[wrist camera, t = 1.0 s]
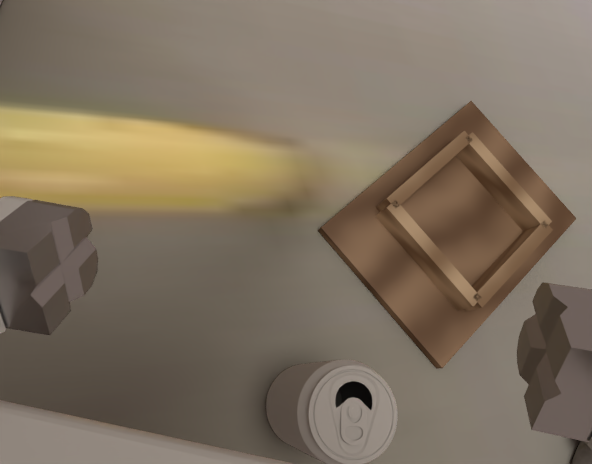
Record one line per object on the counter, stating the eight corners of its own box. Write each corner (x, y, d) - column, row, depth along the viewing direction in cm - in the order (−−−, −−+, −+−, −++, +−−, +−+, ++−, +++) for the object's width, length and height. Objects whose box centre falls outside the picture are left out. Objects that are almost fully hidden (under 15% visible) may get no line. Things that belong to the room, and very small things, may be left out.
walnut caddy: (317, 230, 46) (329, 219, 43) (465, 105, 54) (485, 88, 51) (436, 368, 46) (457, 367, 42) (569, 221, 54) (595, 211, 50)
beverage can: (341, 367, 44) (404, 362, 33) (338, 449, 42) (404, 474, 31) (267, 361, 42) (306, 353, 31) (260, 445, 40) (299, 470, 29)
